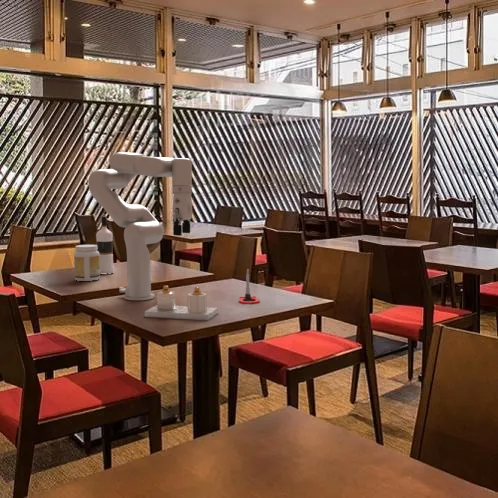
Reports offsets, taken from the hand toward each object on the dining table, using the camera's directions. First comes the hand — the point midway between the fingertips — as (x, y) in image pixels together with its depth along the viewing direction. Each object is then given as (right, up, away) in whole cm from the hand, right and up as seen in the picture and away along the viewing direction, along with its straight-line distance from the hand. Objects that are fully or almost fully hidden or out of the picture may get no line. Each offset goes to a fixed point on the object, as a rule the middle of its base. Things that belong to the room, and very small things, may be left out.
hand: (181, 234), depth 247 cm
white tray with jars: (+2, -30, -15) cm, 34 cm away
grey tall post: (+26, -28, +9) cm, 39 cm away
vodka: (-48, -19, +82) cm, 97 cm away
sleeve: (+7, -28, -17) cm, 34 cm away
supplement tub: (-53, -21, +61) cm, 84 cm away
